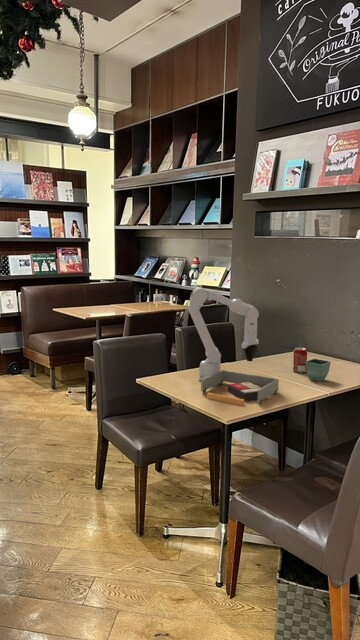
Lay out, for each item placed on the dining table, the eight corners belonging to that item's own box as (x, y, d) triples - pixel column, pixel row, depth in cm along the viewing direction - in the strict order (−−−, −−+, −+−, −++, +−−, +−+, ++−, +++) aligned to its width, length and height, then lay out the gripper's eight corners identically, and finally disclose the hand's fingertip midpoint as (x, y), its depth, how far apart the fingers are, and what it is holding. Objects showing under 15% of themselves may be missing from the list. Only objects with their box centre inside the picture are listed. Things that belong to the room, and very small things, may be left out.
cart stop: (207, 398, 189) (207, 393, 189) (208, 397, 191) (209, 392, 190) (242, 405, 181) (242, 400, 180) (244, 404, 182) (244, 399, 182)
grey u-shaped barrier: (200, 393, 196) (201, 379, 195) (222, 382, 212) (223, 370, 211) (259, 405, 181) (260, 390, 180) (278, 392, 198) (278, 379, 197)
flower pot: (321, 383, 213) (322, 364, 211) (304, 379, 218) (305, 361, 217) (330, 379, 219) (331, 361, 218) (312, 376, 225) (313, 358, 224)
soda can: (306, 373, 230) (308, 350, 228) (292, 372, 231) (293, 349, 229) (305, 370, 236) (307, 347, 234) (292, 369, 237) (293, 346, 236)
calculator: (249, 381, 203) (267, 388, 189) (249, 390, 204) (267, 399, 190) (227, 383, 199) (244, 391, 185) (227, 393, 200) (244, 402, 186)
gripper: (252, 335, 205) (251, 365, 207) (264, 330, 217) (263, 359, 219) (237, 333, 208) (236, 363, 210) (251, 329, 220) (250, 357, 222)
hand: (249, 360), depth 215 cm, fingers closed
